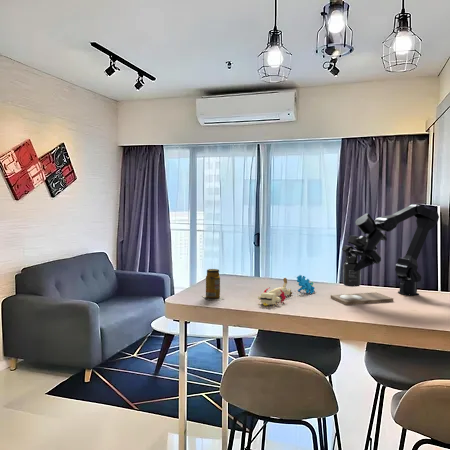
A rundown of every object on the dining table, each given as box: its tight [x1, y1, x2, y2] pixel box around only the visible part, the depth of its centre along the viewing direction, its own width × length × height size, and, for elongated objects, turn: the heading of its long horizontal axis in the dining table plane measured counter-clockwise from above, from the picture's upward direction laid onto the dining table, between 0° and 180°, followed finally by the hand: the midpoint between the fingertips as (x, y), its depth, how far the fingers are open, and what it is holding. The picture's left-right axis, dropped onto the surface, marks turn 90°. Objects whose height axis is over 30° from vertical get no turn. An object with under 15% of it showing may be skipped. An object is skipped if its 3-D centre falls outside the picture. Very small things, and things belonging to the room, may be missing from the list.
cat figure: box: [257, 277, 293, 306], centre depth 182 cm, size 10×9×25 cm
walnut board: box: [330, 291, 394, 306], centre depth 182 cm, size 22×12×1 cm, turn 105°
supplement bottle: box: [342, 255, 362, 288], centre depth 180 cm, size 7×7×12 cm
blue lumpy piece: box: [296, 274, 315, 295], centre depth 197 cm, size 11×6×10 cm
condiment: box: [202, 268, 225, 301], centre depth 185 cm, size 7×8×12 cm
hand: (349, 269), depth 180 cm, fingers closed on supplement bottle, 7 cm apart
